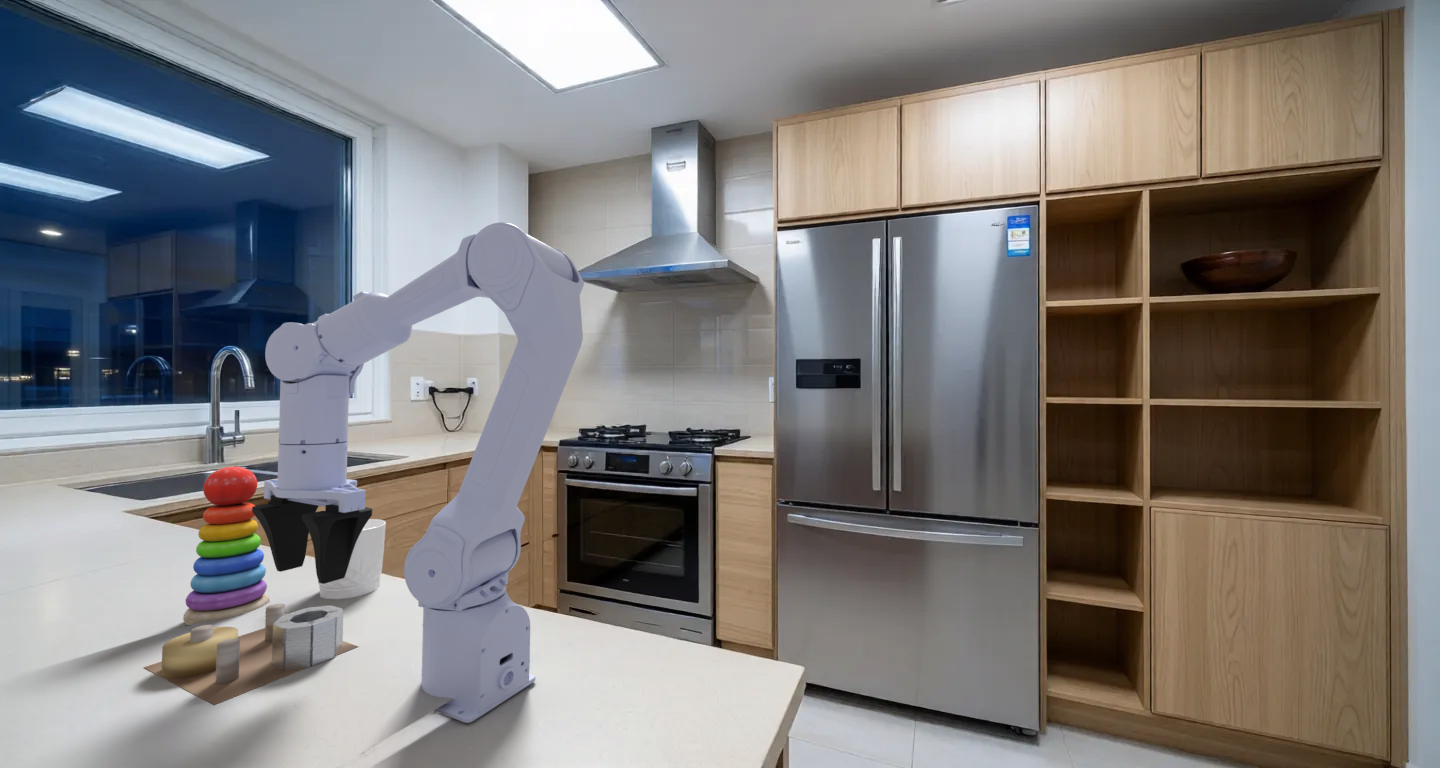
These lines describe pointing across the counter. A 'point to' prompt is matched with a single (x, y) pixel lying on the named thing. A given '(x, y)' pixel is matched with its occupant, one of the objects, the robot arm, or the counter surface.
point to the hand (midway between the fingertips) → (310, 574)
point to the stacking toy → (227, 551)
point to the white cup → (361, 565)
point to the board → (247, 670)
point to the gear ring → (307, 637)
